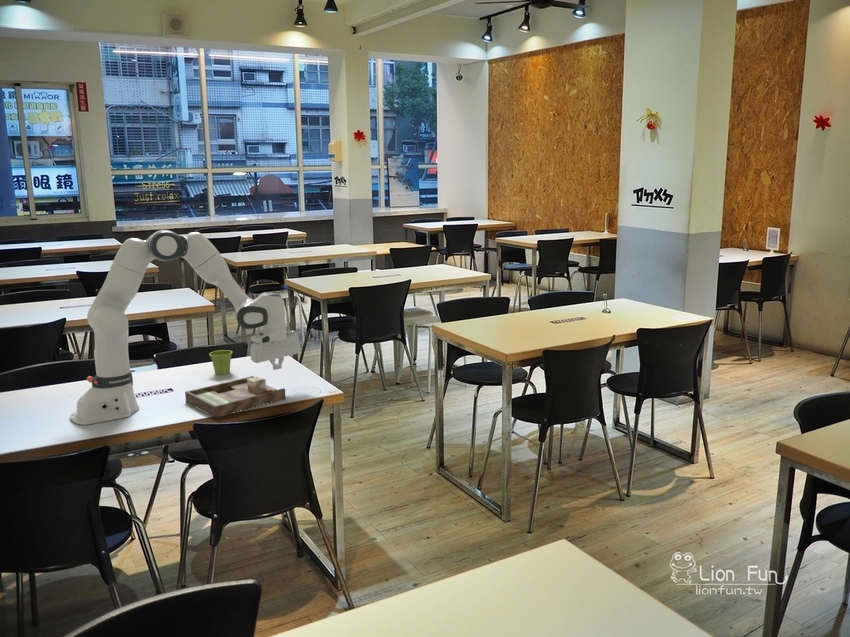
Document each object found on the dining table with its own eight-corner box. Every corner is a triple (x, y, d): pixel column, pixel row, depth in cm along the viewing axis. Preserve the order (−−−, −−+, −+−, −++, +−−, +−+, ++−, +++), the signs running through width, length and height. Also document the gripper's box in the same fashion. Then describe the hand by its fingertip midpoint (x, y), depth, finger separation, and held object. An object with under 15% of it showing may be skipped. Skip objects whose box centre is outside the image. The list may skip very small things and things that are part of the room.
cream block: (254, 391, 272) (253, 381, 271) (247, 388, 275) (247, 378, 275) (266, 388, 275) (265, 378, 274) (259, 386, 279) (258, 376, 278)
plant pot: (230, 375, 302) (228, 355, 300) (207, 376, 302) (206, 355, 300) (236, 369, 311) (235, 349, 309) (214, 369, 311) (213, 350, 309)
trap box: (216, 417, 252) (215, 406, 251) (186, 402, 269) (185, 391, 269) (285, 399, 270) (284, 388, 270) (253, 385, 288) (252, 375, 287)
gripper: (293, 328, 286) (295, 361, 289) (247, 337, 273) (250, 373, 276) (302, 330, 282) (304, 364, 285) (255, 340, 268) (258, 376, 271)
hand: (277, 368), depth 280 cm, fingers closed
